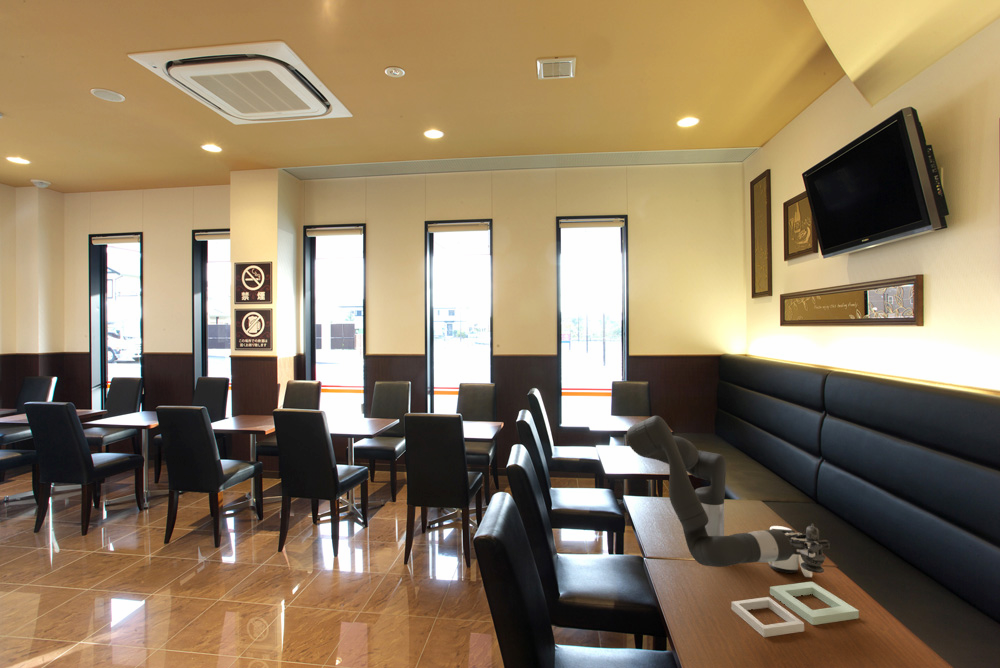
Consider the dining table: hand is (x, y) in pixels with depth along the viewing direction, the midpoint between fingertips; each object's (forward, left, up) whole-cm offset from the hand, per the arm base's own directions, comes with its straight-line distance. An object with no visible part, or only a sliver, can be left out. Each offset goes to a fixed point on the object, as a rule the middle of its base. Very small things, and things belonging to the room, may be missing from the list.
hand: (821, 540), depth 124 cm
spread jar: (-6, +17, -18) cm, 25 cm away
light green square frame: (-2, -2, -17) cm, 17 cm away
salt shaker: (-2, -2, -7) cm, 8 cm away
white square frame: (-13, -15, -17) cm, 26 cm away
